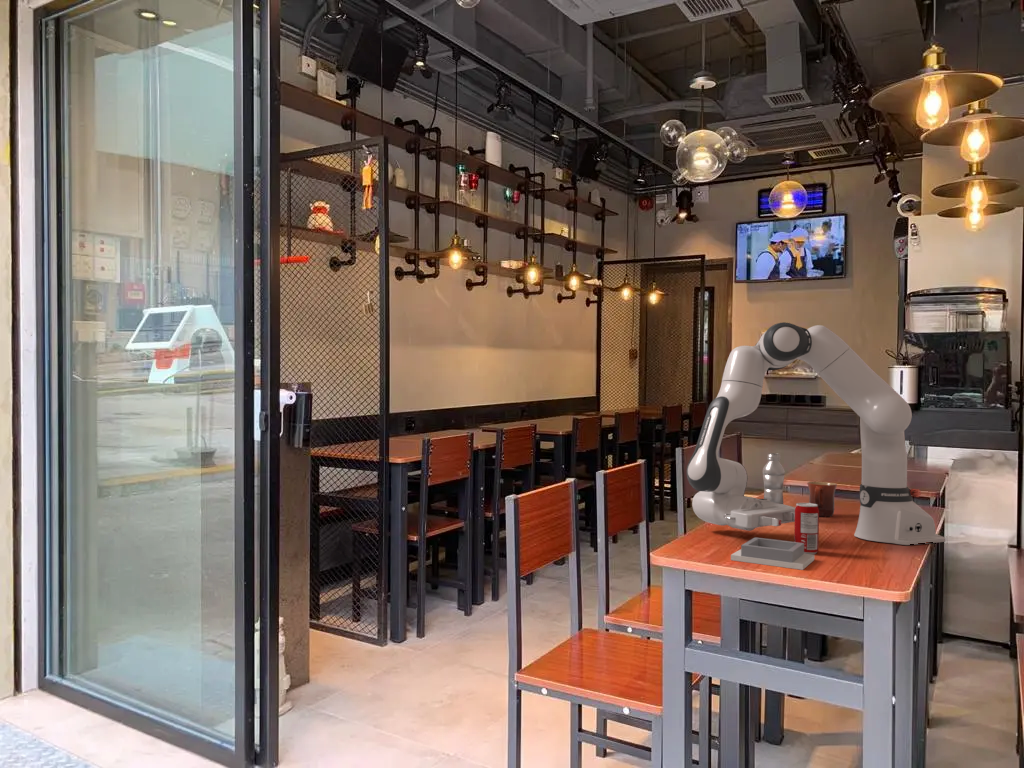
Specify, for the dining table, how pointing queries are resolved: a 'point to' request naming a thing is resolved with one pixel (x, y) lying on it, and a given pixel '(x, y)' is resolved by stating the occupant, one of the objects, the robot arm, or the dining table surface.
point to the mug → (822, 497)
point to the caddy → (773, 553)
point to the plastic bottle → (773, 479)
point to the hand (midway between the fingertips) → (791, 520)
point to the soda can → (807, 526)
